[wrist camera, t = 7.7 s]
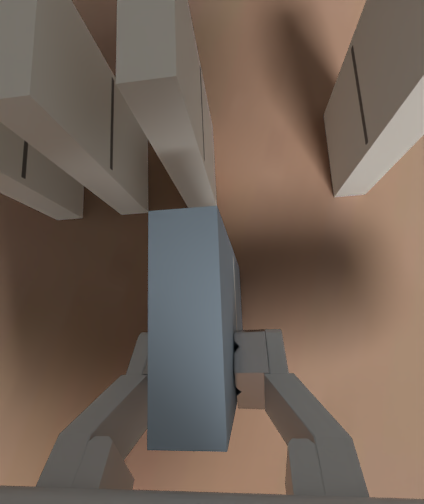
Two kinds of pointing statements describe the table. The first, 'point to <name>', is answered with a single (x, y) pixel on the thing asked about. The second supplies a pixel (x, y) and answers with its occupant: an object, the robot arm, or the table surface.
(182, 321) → the domino
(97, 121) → the domino
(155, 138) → the domino
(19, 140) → the domino
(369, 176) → the domino
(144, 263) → the table surface
